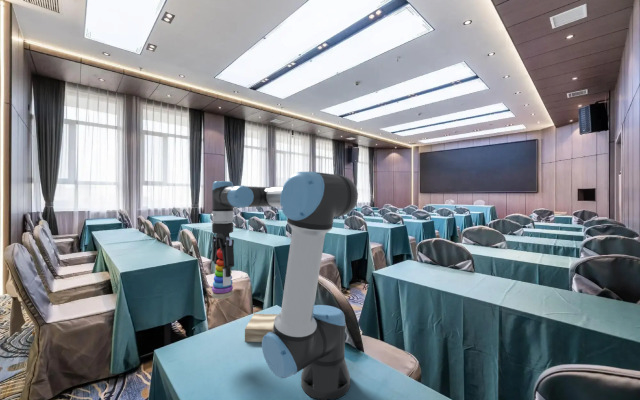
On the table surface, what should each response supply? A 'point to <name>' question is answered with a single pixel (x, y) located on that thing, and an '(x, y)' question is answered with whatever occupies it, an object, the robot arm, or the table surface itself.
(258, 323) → the plinth
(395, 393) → the table surface
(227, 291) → the stacking toy
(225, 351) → the table surface
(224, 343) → the table surface
